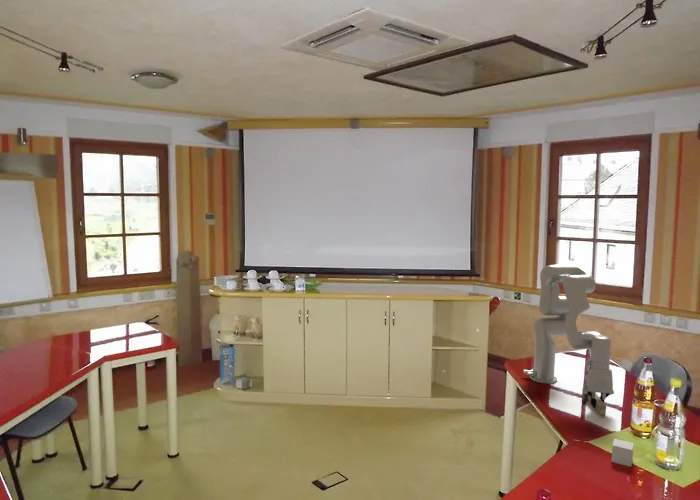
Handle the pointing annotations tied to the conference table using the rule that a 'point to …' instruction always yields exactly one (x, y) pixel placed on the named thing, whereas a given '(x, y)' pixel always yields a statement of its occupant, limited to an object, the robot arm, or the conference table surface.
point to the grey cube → (622, 452)
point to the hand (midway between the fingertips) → (597, 406)
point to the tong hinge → (585, 397)
